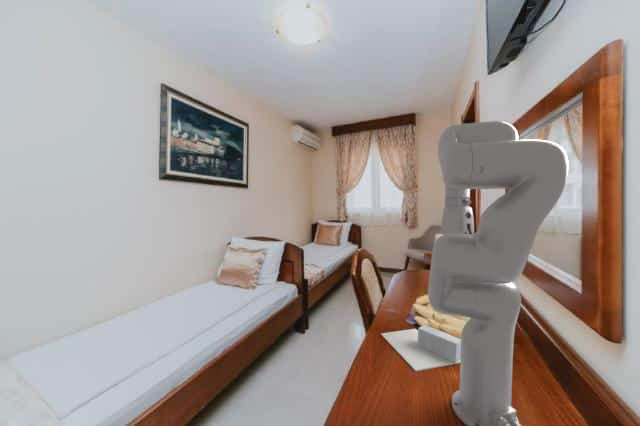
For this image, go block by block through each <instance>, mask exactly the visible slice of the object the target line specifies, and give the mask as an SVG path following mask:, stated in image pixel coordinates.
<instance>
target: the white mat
mask: <svg viewBox="0 0 640 426" xmlns="http://www.w3.org/2000/svg"><path fill="white" fill-rule="evenodd" d="M380 336H382V337H383V339H385V341H386V342H387V343H388V344H389V345H390V346H391V348H393V349H394V350H395V351H396V353H398V354H399V356H400V357H402V359H403V360H404V361H405V362H406V363H407V364H408V365H409V366H410V368H412V370H413V371H414V372H420V371H422V372H423V371H425V370H426V371H427V370H432V369H437V368H442V367H447V366H452V365H456V364H457V365H459V364H460V362H461V359H460V360H459V361H458V362H457V363H453V362H451V361H449V360H447V359H445V358H443V357H441V356H439V355H437V354H435V353H432V352H430V351H428V350H426V349H424V348H422V347H420V346H418V330H417V329H416V328H411V329H403V330H396V331H389V332H384V333H383V332H382V333H380Z"/></svg>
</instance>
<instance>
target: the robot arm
mask: <svg viewBox="0 0 640 426" xmlns="http://www.w3.org/2000/svg"><path fill="white" fill-rule="evenodd" d="M438 140H439V141H438V143H437V145H438V146H437V157H438V161H439V165H440V170H441V173H442V181H443V183H444V184H445V185H444V186H445V188H444V208H443V211H442V218H441V231H442V234H441V235H439V237H438V238H437V239H435V242H434V244H433V247H432V251H431V252H432V253H431V257H430V258H431V259H430V270H429V278H428V288H427V295H428V302H429V305H430V306H431V308H432V309H433V310H434V312H435V311H436V312H437V313H439V314H443V315H450V316H457V317H464V318H469V319H468V320H467V321H466V323H465V324H464V326H463V328H462V330H461V336H460V339H461V359H460V360H461V362H460V363H459V365H460V366H459V369H460V370H459V371H460V373H459V389H458V390H456V391H455V392H453V394H452V396H451V406H452V409H453V412H454V413H455V415H456V416H457V417H458V418H459V420H460V421H461V422H463V424H464V425H465V426H523V425H522V424H520V421H519V418H518V417H517V410H516V409H515V408H513V406H512V390H513V389H512V387H513V363H514V362H513V361H514V360H513V359H514V358H513V357H514V341H515V340H514V339H515V332H516V331H515V330H516V325H517V322H518V317H519V314H520V310H521V307H522V306H521V305H522V297H521V293H520V290H519V288H518V287H517V284H515V282H516V281H518V280H519V278H520V277H521V276H522V274H523V271H524V270H525V267H526V264H527V262H528V259H529V257H530V253H531V251H532V248H533V246H534V243H535V240H536V237H537V234H538V231H539V230H540V228H541V226H542V224H543V222H544V221H545V219H546V218H547V217H548V215H549V214H550V212H552V210H553V209H554V207H555V205H556V204H557V203H558V201H559V199H561V197H562V195H563V192H564V191H565V187H566V184H567V180H568V177H569V176H568V175H569V159H568V155H567V153H566V150H565V149H564V148H563V147H562V146H561V145H559V144H557V143H556V142H553V141H549V140H543V139H519V133H518V130H517V129H516V128H515V126H513V125H512V124H510V123H508V122H505V121H497V120H495V121H494V120H493V121H480V122H470V123H458V124H452V125H450V126H448V127H447V128H445V130H443V132H442V133H441V135H440V137H439V139H438ZM497 189H498V190H500V189H503V190H504V189H506V190H507V189H508V191H507V192H506V193H504V194H503V195H501V196H499V198H497V199H495V200H494V201H493V202H491V204H489V206H488V207H487V208H485V210H483V212H482V213H481V215H480V218H479V223H478V227H477V230H476V232H475V219H474V218H475V217H474V213H473V208H472V207H471V205H470V204H472V200H471V190H497Z"/></svg>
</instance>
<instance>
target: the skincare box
mask: <svg viewBox="0 0 640 426" xmlns="http://www.w3.org/2000/svg"><path fill="white" fill-rule="evenodd" d="M417 328H418V346H420V347H422V348H424V349H426V350H428V351H430V352H432V353H435V354H437V355H439V356H441V357H443V358H445V359H447V360H449V361H451V362H453V363H457V362H458V361H459V360H461V338H459V337H457V336H454V335H452V334H449V333H447V332H445V331H442V330H439V329H436V328H434V327H432V326H431V327H429V326H427V325H422V326H421V327H417Z"/></svg>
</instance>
